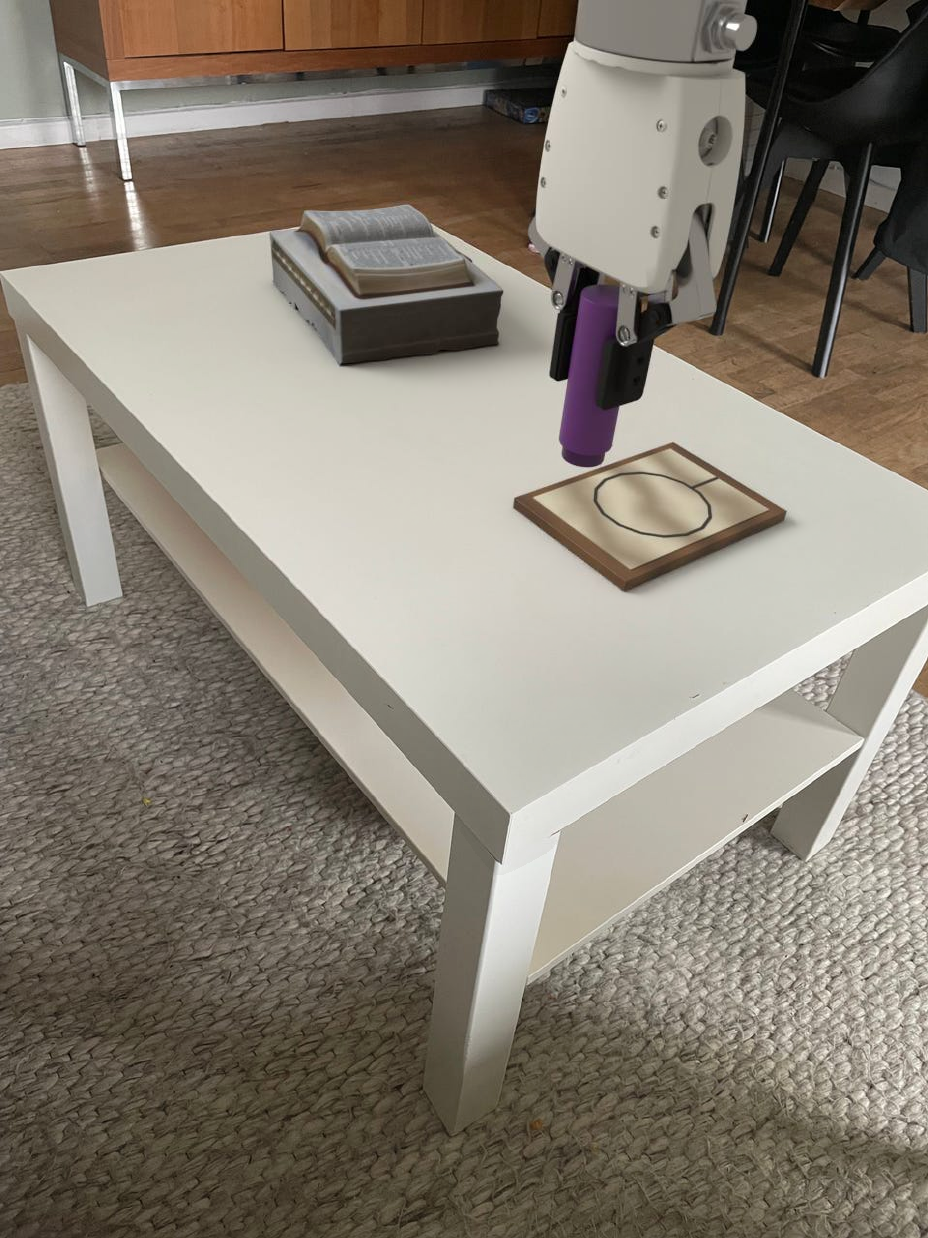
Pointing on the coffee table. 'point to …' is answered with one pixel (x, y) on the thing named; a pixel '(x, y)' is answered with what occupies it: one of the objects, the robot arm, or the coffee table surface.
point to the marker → (589, 380)
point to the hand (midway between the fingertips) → (595, 386)
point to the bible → (383, 284)
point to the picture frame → (648, 513)
